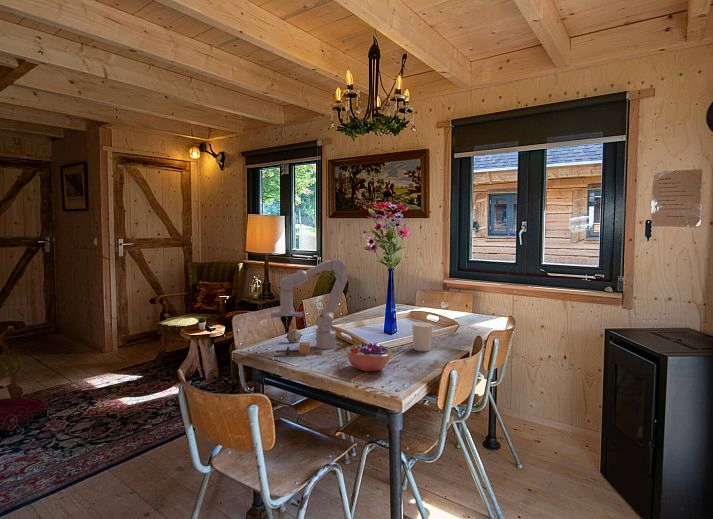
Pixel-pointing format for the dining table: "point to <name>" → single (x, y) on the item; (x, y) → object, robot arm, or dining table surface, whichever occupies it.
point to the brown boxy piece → (298, 352)
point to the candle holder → (422, 336)
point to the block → (304, 348)
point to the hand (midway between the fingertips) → (286, 332)
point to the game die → (293, 335)
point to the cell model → (368, 356)
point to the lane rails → (288, 355)
